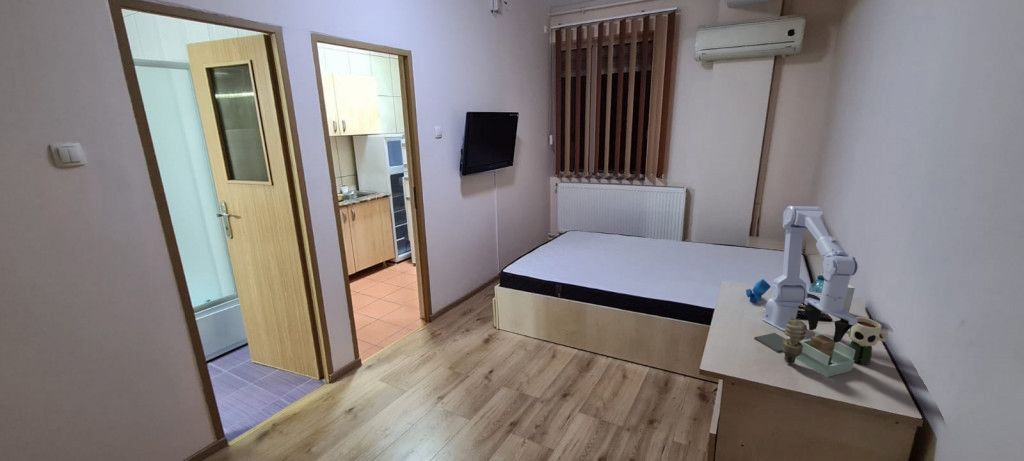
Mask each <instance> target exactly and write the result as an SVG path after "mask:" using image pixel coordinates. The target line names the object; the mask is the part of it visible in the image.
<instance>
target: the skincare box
mask: <svg viewBox="0 0 1024 461" xmlns="http://www.w3.org/2000/svg"><path fill="white" fill-rule="evenodd" d="M855 289H856V288H855V287H854V286H852V285H851V284H850V283H849V284H848V288H847V293H846V297H845V301H844V305H843V310H845V311H846V312H848V313H849V314H850V310H851V306H852V302H853V298H854V297H853V296H854V294H855Z"/></svg>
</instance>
